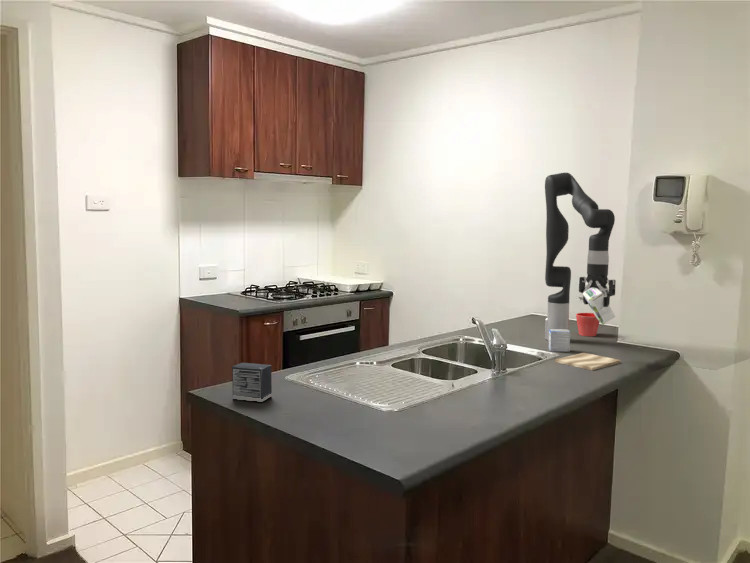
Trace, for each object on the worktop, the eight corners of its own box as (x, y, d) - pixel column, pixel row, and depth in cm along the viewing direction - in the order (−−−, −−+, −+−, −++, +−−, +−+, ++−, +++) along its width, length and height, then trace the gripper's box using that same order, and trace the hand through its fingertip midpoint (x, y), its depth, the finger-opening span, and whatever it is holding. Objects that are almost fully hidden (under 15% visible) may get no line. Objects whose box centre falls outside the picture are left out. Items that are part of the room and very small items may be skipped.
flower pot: (589, 338, 281) (589, 317, 280) (570, 334, 291) (571, 313, 290) (604, 335, 287) (605, 315, 286) (586, 332, 296) (586, 312, 295)
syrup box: (595, 317, 242) (581, 293, 234) (608, 308, 241) (594, 284, 233) (603, 325, 237) (588, 301, 229) (616, 316, 236) (602, 292, 228)
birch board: (554, 362, 236) (555, 359, 236) (583, 355, 247) (583, 352, 247) (592, 370, 223) (592, 367, 223) (620, 362, 235) (620, 360, 235)
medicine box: (567, 349, 257) (568, 329, 256) (569, 352, 253) (570, 331, 252) (548, 349, 258) (548, 328, 257) (550, 351, 254) (550, 331, 253)
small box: (273, 397, 190) (272, 364, 189) (262, 403, 184) (261, 369, 183) (243, 394, 193) (242, 361, 192) (231, 400, 187) (230, 366, 186)
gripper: (575, 261, 235) (573, 304, 237) (609, 264, 224) (607, 308, 226) (586, 260, 240) (585, 302, 242) (620, 263, 229) (618, 306, 230)
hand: (596, 305), depth 234 cm, fingers closed on syrup box, 7 cm apart
